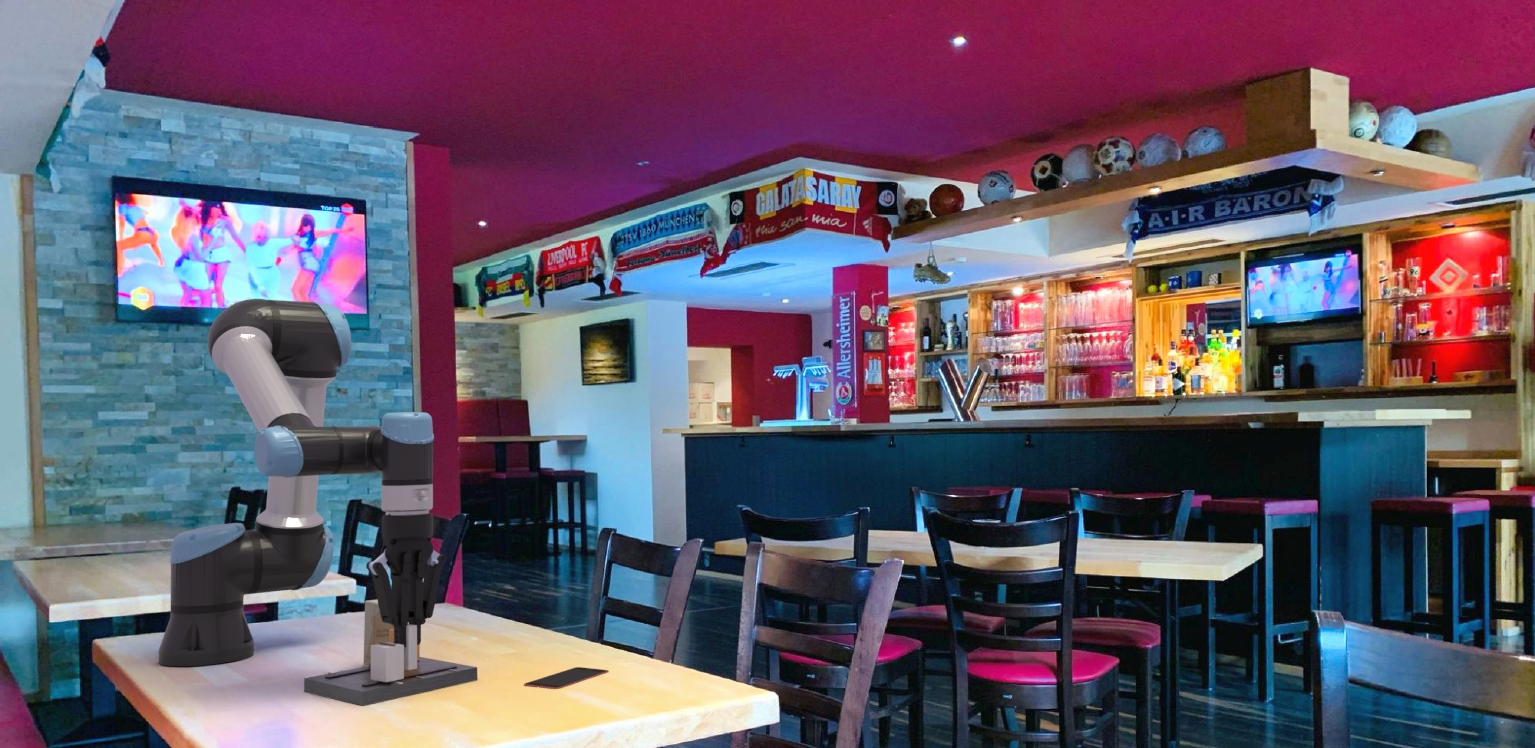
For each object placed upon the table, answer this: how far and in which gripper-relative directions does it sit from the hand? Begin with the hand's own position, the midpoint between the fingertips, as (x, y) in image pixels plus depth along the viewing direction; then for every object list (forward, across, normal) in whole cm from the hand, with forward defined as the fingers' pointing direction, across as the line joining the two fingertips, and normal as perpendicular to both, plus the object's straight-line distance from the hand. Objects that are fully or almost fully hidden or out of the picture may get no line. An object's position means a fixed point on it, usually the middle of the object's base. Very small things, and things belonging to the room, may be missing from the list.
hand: (407, 667), depth 168 cm
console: (+3, +1, +5) cm, 6 cm away
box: (+4, +9, +20) cm, 22 cm away
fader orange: (+1, +6, +10) cm, 12 cm away
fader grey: (+1, -3, 0) cm, 4 cm away
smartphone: (+4, +20, -14) cm, 24 cm away
